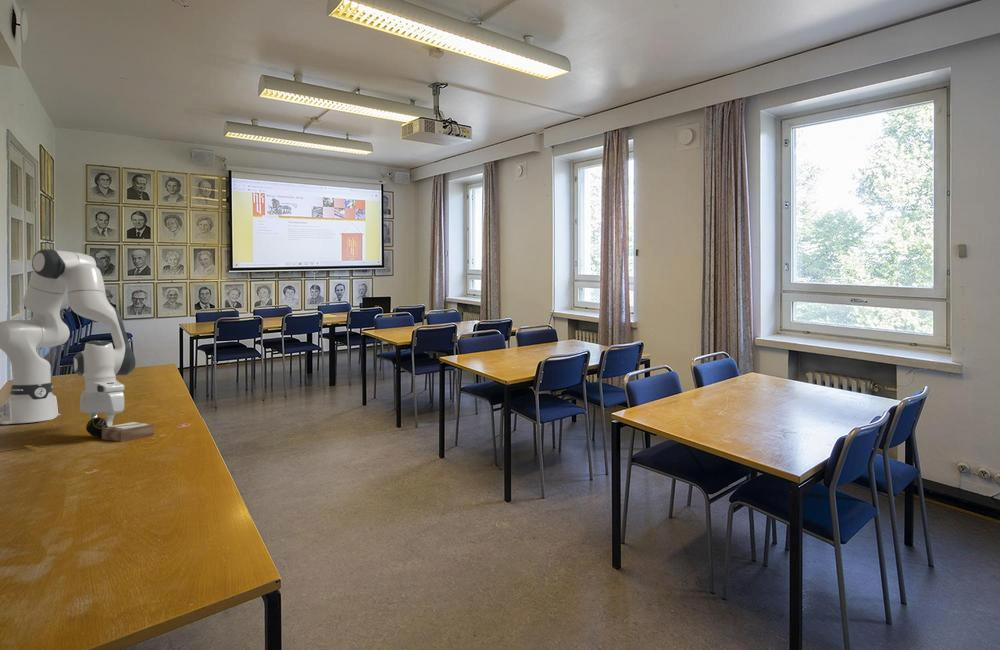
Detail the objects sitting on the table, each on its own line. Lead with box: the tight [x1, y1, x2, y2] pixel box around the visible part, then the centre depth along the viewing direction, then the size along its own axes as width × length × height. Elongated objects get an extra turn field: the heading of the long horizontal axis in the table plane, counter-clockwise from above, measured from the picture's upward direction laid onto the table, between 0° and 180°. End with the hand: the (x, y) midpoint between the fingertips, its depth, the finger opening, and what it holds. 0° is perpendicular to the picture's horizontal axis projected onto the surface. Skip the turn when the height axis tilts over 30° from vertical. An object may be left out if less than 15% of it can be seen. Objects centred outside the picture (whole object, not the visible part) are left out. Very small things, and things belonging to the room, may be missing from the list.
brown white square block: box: [101, 421, 155, 443], centre depth 187 cm, size 11×11×4 cm
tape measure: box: [85, 416, 114, 439], centre depth 186 cm, size 7×7×4 cm
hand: (102, 425), depth 187 cm, fingers open, 6 cm apart
